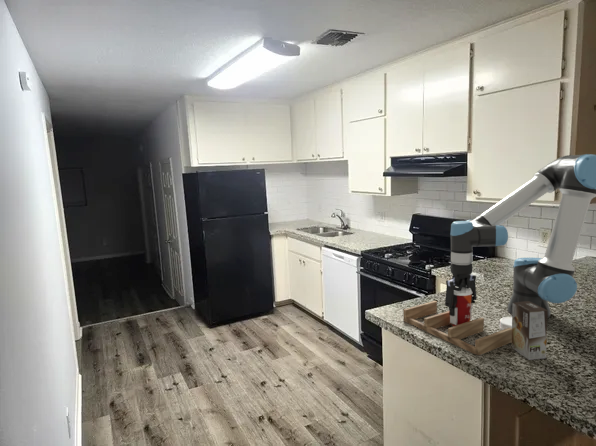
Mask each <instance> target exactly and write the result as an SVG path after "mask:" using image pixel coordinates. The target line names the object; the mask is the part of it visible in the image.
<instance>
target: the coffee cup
mask: <svg viewBox="0 0 596 446" xmlns="http://www.w3.org/2000/svg"><path fill="white" fill-rule="evenodd" d="M455 287H456V286H455ZM457 288H459V287H457ZM472 293H473V292H472V291H471V288H466V289H465V287H462V290H461V291H456V290H454V295H457V304H456V307H457V325H460V324H463V323H466V322H469V321H471V320H470V312H471V296H473V295H472ZM451 325H452V327H454V326H457V325H455V324H453V323H452V324H451Z"/></svg>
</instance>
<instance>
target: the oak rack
mask: <svg viewBox="0 0 596 446" xmlns="http://www.w3.org/2000/svg"><path fill="white" fill-rule="evenodd" d="M402 310H403V313H402V314H403V315H402V316H403V317H402V318H403V322H405V323H407V324H409V325H411V326H413V325H414V326H413V327H415V326H416V328H417V327H418V329H419V328H420V330H422V331H424V332H425V333H429V334H431V335H433V336H435V337H436V338H439V339H442V340H443V341H446V342H448V343H450V344H452V345H454V346H456V347H459V348H461V349H463V350H464V351H468V352H470V353H471V354H474V355H476V356H477V357H479V356H481V355H484V354H486V353H490V352H491V351H494V350H497V349H499V348H502V347H504V346H506V345H509V344H512V328H507V329H504V330H501V329H500V330H498V331H496V332H494V333H491V334H489V335H488V334H487V335H485V336H483V337H479V338H477V339H475V341H474V342H475V343H474V344H475V345H473V344H470V343H468V342H466V341H463V339H466V338H468V337H471V336H474V335H477V334H479V333H482V332H484V330H485V329H484V328H485V327H484V326H485V325H484V323H485V322H484V321H485V318H484V317H478V318H474V319H471V320H470V321H469V322H466V323H463V324H460V325H457V326H454V327H453V326H451V327H448V328H447V333H446V332H444V331H441V330H439V328H442V327H445V326H449V325H453V324H452V323H450V314H449V310H447V311H443V312H440V313H438V311H437V310H438V301H437V300H432V301H428V302H425V303H421V304H417V305H414V306H411V307H406V308H404V309H402ZM426 316H428V317H426ZM420 318H423V322H420V321H419V320H418V319H420Z"/></svg>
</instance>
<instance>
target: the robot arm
mask: <svg viewBox="0 0 596 446" xmlns="http://www.w3.org/2000/svg"><path fill="white" fill-rule="evenodd" d="M556 190H559V192H560V193H561V198H560V202H559V206H558V209H557V212H556V216H555V219H554V223H553V226H552V229H551V233H550V236H549V239H548V242H547V246H546V249H545V252H544V253H545V254H544V256H543V257H542V258H541V257H518V258H516V259H515V260H514V262H513V266H512V268H513V280H512V285H513V286H512V294H511V297H510V298H509V301H508V304H507V312H508V313H510V314H511V315H512V306H513V303H516V302H524V301H530V302H532V303H534V304H536V305H538V306H540V307H542V308H544V309H546V310H548V317H547V319H549V318H550V317H551V308H550V305H549V303H551V304H562V303H566V302H568V301H570V300H571V299H572V298H573V297H574V296H575V294H576V293H577V290H578V283H577V281H576V279H575V278H574V274H575V272H576V269H575V267H574V266H573V264H572V263H573V259H574V256H575V253H576V250H577V248H578V243H579V240H580V237H581V233H582V230H583V228H584V227H583V226H584V223H585V220H586V218H587V214H588V210H589V208H590V203H591V201H592V200H593V199H594V198H596V154H592V153H591V154H590V153H585V154H568V155H563V156H561V157H558V158H556V159H554V160H552V161H550V163H548V164H547V165H545V166H543V167H542V168H540V169H539V170H538V171H537V172H535V173H533V176H532V178H531V179H530V180H528V181H526V182H525V183H524V184H523V185H521V186H519V187H518V188H516V189H515V190H514V191H512V192H511V193H510V194H508V195H507V196H505V197H504V198H502V199H501V200H500V201H498V202H496V203H495V204H494V205H492V206H491V207H489V209H487V210H485V211H484V212H483V213H481V214H480V215H477V216H476V217H475V218H473V219H472V218H471V219H468V220H456V221H453V222H452V223H451V224H450V233H449V235H450V262H451V263H450V273H451V274H452V277H451V279H450V280H449V279H447V280H446V281H445V285H446V290H445V299H444V301H445V302H444V306H445V307H448V308H449V310H448V311H449V314H450V323H453V324H455V325H457V307H456V304H457V295H454V290H456V291H461V290H462V287H465V289H466V288H471V291H472V292H473V293H472V296H471V312H470V321H472V320H473V319H472V313H473V311H472V310H473V304H475V303H476V301H477V287H476V285H477V284H476V280H477V276H476V275H474V274H473V264H472V263H473V262H474V261H473V256H474V255H473V251H474V250H473V247H475V248H476V247H499V246H500V247H501V246H505V245H506V244H507V243H508V239H509V232H508V229H507V228H506V226H504V225H503V223H505V222H506V221H507V220H509V219H511V218H512V217H513V216H514V217H515V215H517V214H518V213H520V212H521V211H522V210H524V209H525V208H527V207H528V206H530V205H531V204H532V203H534V202H536V201H537V200H538V199H539V198H541V197H543V196H544V195H546V194H547V193H549V194H553V192H555V191H556ZM455 286H456V287H455ZM457 287H459V288H457ZM453 324H452V325H453Z"/></svg>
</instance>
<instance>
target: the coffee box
mask: <svg viewBox="0 0 596 446" xmlns="http://www.w3.org/2000/svg"><path fill="white" fill-rule="evenodd" d="M511 317H512V343H511V348H512V349H513V350H514V351H516V352H517V353H519V355H521V356H522V357H524V358H525V359H526V360H528V361H531V360H532V361H533V360H541V359H547V340H548V318H547V317H548V310H546V309H544V308H542V307H540V306H538V305H536V304H534V303H532V302H530V301H524V302H516V303H513V306H512V314H511Z"/></svg>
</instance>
